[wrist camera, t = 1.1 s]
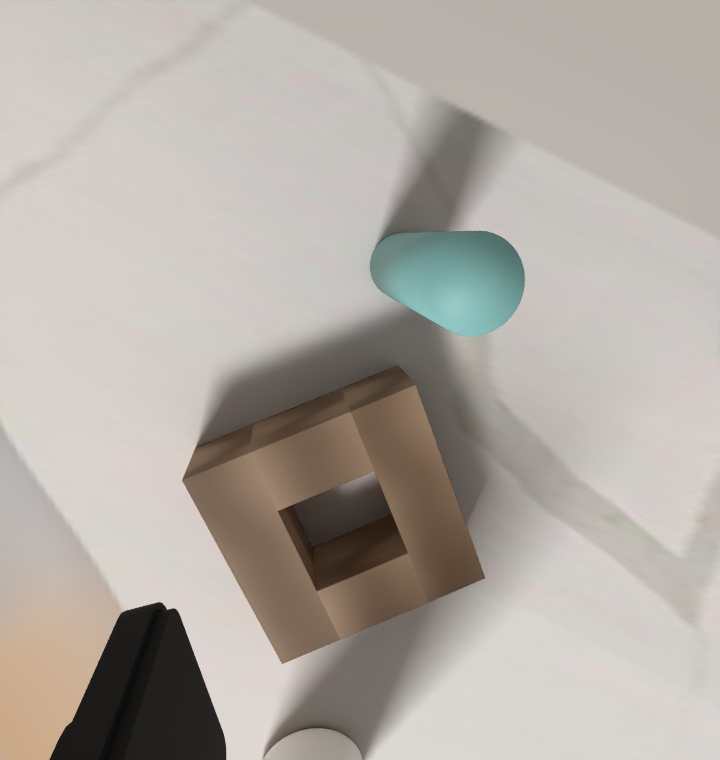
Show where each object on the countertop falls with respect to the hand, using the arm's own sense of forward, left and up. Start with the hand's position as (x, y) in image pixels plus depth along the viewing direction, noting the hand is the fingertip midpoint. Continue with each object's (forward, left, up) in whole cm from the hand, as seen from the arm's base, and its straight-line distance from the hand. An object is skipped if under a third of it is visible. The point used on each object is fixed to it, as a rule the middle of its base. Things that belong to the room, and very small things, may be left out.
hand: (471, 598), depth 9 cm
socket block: (+3, +8, -21) cm, 22 cm away
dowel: (-5, -3, -21) cm, 21 cm away
